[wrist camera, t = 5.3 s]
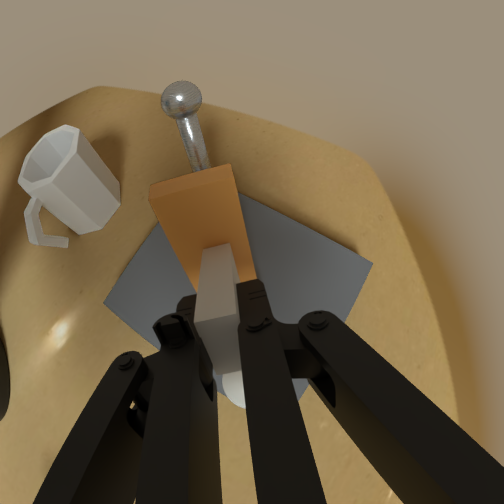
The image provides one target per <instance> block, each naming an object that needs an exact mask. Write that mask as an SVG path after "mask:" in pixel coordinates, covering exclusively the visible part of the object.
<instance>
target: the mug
mask: <svg viewBox="0 0 504 504" xmlns="http://www.w3.org/2000/svg"><path fill="white" fill-rule="evenodd" d="M18 183H19V184H20V186H21V187H22V188H23V189H24V190H25V191H26V192H27V193H28V194H29V195H30V196H31V199H30V201H29V203H28V205H27V207H26V209H25V211H24V217H25V223H26V228H27V234H28V238H29V242H30V243H32V244H34V245H41V246H51V247H62V248H68V242H69V238H67V237H62V236H56V235H44V234H43V230H42V227H41V223H40V218H39V212H40V209H41V207H42V206H43V207H44V208H45V209H47V210H48V211H49V212H50V213H52V214H53V215H54V216H55V217H57V218H58V219H59V220H60V221H62V222H63V223H64V224H65V225H67V226H68V227H69V228H71V229H72V230H73V231H74V232H76V233H77V234H78V235H82V234H85V233H89V232H93V231H97V230H101V229H103V228H104V226H105V225H106V223H107V222H108V221H109V219H110V218H111V217H112V216H113V214H114V213H115V212H116V210H117V209H118V208H119V206H120V205H121V200H120V183H119V182H118V180H117V179H116V178H115V176H114V175H113V174H112V172H111V171H110V170H109V168H108V167H107V166H106V165H105V163H104V162H103V161H102V159H101V158H100V157H99V155H98V154H97V152H96V151H95V150H94V148H93V147H92V146H91V144H90V143H89V142H88V140H87V139H86V137H85V136H84V135H83V133H82V132H81V130H80V129H78V128H75V127H72V126H69V125H66V124H65V125H63V126H60V127H58V128H56V129H54V130H52V131H50V132H48V133H46V134H44V135H43V137H42V138H41V139H40V140H39V141H38V142H37V143H36V145H35V146H34V147H33V148H32V149H31V150H30V152H29V153H28V154H27V155H26V157H25V160H24V163H23V166H22V169H21V172H20V175H19V178H18Z"/></svg>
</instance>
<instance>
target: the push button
mask: <svg viewBox="0 0 504 504" xmlns="http://www.w3.org/2000/svg"><path fill="white" fill-rule="evenodd" d="M222 385H223V389H224V392H225V394H226V395H227V397H228V398H229V399H230V401H232V402H233V403H234V404H235V405H237V406H239V407H242V408H245V409H246V406H245V397H244V388H243V379H242V371H237V372H232V373H227V374H223V378H222Z"/></svg>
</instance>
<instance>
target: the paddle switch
mask: <svg viewBox="0 0 504 504" xmlns="http://www.w3.org/2000/svg"><path fill="white" fill-rule="evenodd" d="M149 202H150V204H151V206H152V208H153V210H154V212H155V214H156V216H157V218H158V220H159V222H160V224H161V226H162V228H163V230H164V232H165V234H166V236H167V238H168V240H169V242H170V244H171V246H172V248H173V250H174V252H175V254H176V256H177V257H178V259H179V261H180V263H181V265H182V267H183V269H184V271H185V272H186V274H187V276H188V278H189V280H190V282H191V283H192V285H193V287H194V289H195V291H196V292H197V290H198V282H199V274H200V266H201V259H202V252H203V249H206V248H210V247H214V246H218V245H222V244H226V243H230V246H231V249H232V253H233V257H234V261H235V264H236V268H237V272H238V275H239V279H240V283H241V282H245V281H249V280H253V279H257V277H256V272H255V268H254V263H253V259H252V255H251V250H250V246H249V241H248V237H247V232H246V228H245V224H244V219H243V215H242V210H241V206H240V201H239V197H238V192H237V188H236V184H235V179H234V175H233V171H232V168H231V164H230V163H229V164H225V165H221V166H217V167H213V168H209V169H205V170H201V171H197V172H194V173H190V174H186V175H183V176H179V177H176V178H172V179H169V180H165V181H162V182H159V183H155V184H152V185H150V192H149Z"/></svg>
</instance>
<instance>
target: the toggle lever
mask: <svg viewBox="0 0 504 504" xmlns="http://www.w3.org/2000/svg"><path fill="white" fill-rule="evenodd" d="M201 102H202V96H201V92H200V90H199V89H198V87H197V86H195V85H194V84H193V83H191V82H188V81H177V82H175V83H172V84H170V85H169V86H168V87H167V88H166V89H165V90H164V92H163V94H162V96H161V107H162V109H163V111H164V112H165V114H166V115H168V116H169V117H171V118H173V119H176V122H177V125H178V128H179V131H180V134H181V137H182V141H183V144H184V147H185V150H186V153H187V156H188V159H189V162H190V165H191V168H192V171H193V173H194V172H197V171H201V170H205V169H209V168H211V164H210V161H209V157H208V154H207V150H206V146H205V143H204V139H203V136H202V132H201V128H200V125H199V121H198V117H197V114H196V112H197V111H198V110H199V108H200V106H201Z"/></svg>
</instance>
